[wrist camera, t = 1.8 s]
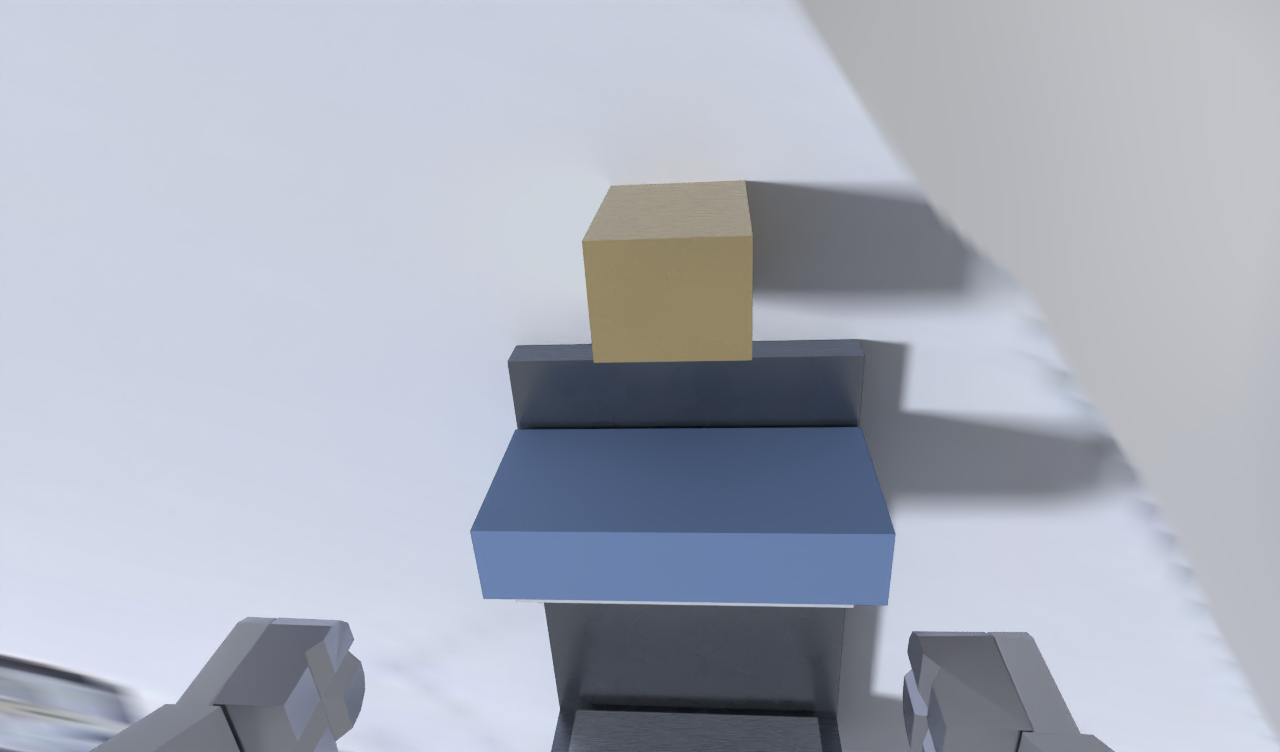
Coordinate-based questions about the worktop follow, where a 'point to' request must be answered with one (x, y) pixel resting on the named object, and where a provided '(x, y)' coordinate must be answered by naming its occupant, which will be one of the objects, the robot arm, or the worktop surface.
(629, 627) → the base
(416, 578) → the worktop surface
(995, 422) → the worktop surface
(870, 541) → the sliding jaw
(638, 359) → the brass block
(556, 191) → the worktop surface
